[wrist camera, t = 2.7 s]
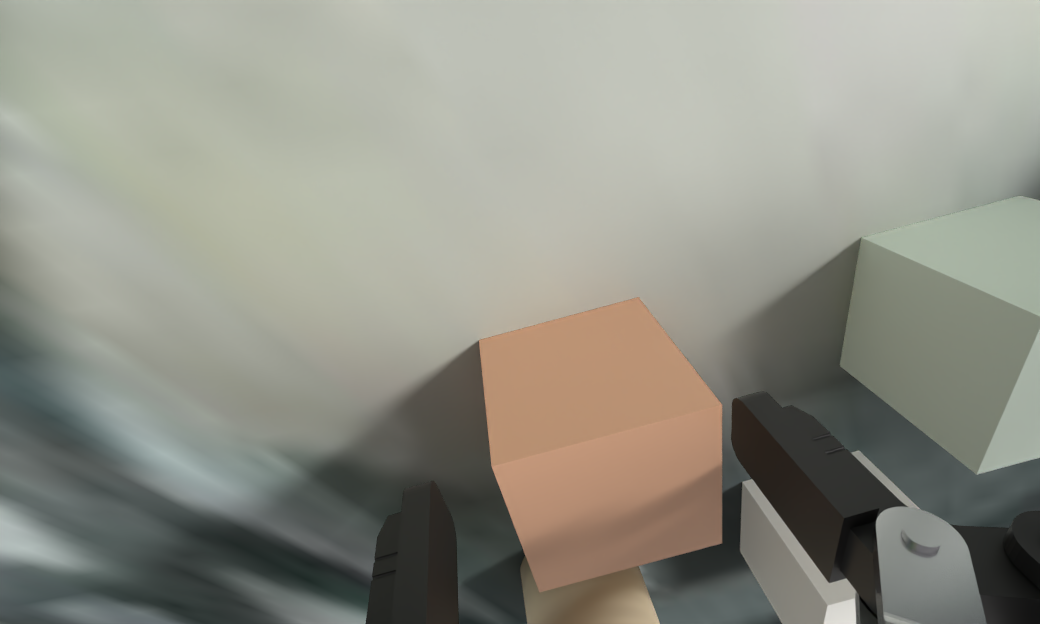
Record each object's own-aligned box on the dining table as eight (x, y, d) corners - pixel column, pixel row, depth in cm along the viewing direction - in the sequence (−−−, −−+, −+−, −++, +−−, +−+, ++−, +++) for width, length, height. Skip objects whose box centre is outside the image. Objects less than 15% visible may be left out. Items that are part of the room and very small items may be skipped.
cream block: (857, 448, 19) (977, 564, 15) (841, 522, 21) (940, 639, 17) (741, 480, 19) (827, 605, 15) (739, 549, 21) (812, 674, 17)
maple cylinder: (625, 512, 19) (677, 648, 15) (636, 578, 21) (684, 711, 17) (508, 544, 19) (525, 689, 15) (533, 606, 21) (554, 745, 17)
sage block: (1016, 194, 14) (1271, 257, 10) (971, 328, 16) (1157, 425, 12) (859, 236, 14) (1044, 318, 10) (837, 364, 16) (976, 474, 12)
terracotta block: (637, 296, 14) (721, 404, 10) (650, 415, 16) (722, 543, 12) (478, 338, 14) (491, 466, 10) (516, 451, 16) (539, 592, 12)
